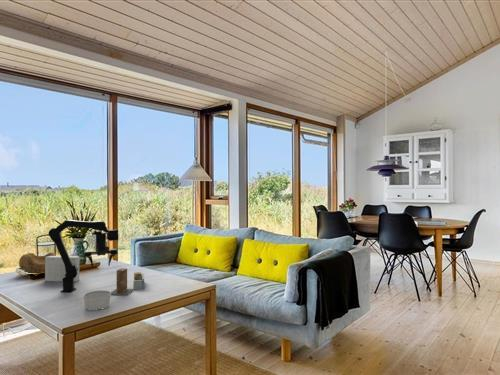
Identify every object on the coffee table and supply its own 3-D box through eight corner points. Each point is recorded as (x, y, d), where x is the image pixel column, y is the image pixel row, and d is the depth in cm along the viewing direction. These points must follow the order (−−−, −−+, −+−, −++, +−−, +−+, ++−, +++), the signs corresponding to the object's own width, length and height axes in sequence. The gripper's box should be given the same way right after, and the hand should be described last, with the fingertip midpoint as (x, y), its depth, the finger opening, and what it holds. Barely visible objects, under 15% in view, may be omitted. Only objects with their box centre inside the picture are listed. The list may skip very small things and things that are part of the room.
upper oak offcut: (134, 280, 224) (134, 274, 224) (134, 278, 228) (134, 272, 228) (141, 279, 226) (141, 273, 226) (140, 278, 229) (140, 271, 229)
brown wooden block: (116, 292, 210) (116, 270, 210) (120, 289, 216) (120, 268, 215) (123, 292, 210) (123, 270, 210) (127, 290, 215) (127, 268, 215)
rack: (133, 289, 219) (133, 279, 219) (134, 282, 233) (134, 273, 233) (144, 288, 221) (144, 278, 221) (144, 282, 235) (144, 272, 235)
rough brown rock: (21, 280, 239) (22, 258, 238) (17, 273, 251) (18, 252, 250) (60, 276, 254) (61, 255, 253) (54, 269, 267) (55, 250, 266)
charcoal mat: (127, 295, 207) (127, 294, 207) (108, 295, 208) (108, 294, 208) (134, 289, 218) (134, 288, 218) (117, 289, 219) (117, 288, 219)
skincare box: (80, 279, 239) (79, 256, 239) (75, 282, 234) (75, 257, 234) (49, 278, 241) (49, 255, 241) (44, 281, 236) (44, 257, 236)
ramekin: (114, 302, 195) (114, 290, 195) (105, 311, 182) (105, 298, 182) (89, 303, 194) (89, 290, 194) (79, 311, 181) (78, 298, 181)
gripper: (84, 244, 210) (84, 271, 211) (118, 242, 218) (118, 267, 219) (84, 241, 220) (84, 267, 221) (116, 239, 228) (116, 264, 229)
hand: (100, 266), depth 222 cm, fingers open, 9 cm apart
